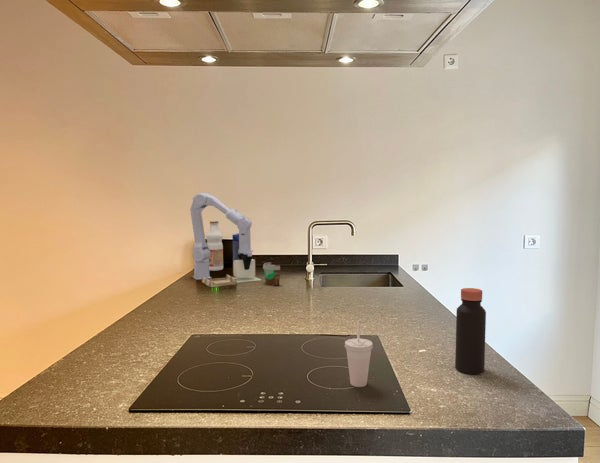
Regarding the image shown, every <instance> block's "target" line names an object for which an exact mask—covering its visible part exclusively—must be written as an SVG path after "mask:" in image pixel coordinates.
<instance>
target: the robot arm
mask: <svg viewBox="0 0 600 463" xmlns="http://www.w3.org/2000/svg"><path fill="white" fill-rule="evenodd" d="M209 206H211V207H214V208H215V209H217V210H218V211H220V212H222V213H223V214H225V217H226V219H227V220H229V221H230V222H231V223H233V224H234V225H236V227H237V228H238V233H239V250H238V253H240V255H237V256H238V258H239V260H243V263H244V269H245V270H249V267H250V263H251V260H252V259H253V258H254V255H253V252H254V251H253V250H252V248H251V242H252V241H251V227H252V225H253V223H252V220H251V219H250V218H249V217H246V216H245V215H242V214H241V213H239V212H238V209H234V208H232V209H230V208H229V207H227V206H226V205H225V203H223V202H222V201H220V200H219V199H218V198H216V197H215V196H214V195H212V194H211V193H209V192H198V193H196V194H195V195H194V196H193V197H192V203H191V207H190V217H191V224H192V231H193V238H194V246H193V248H192V249H193V252H192V258H193V260H194V264H193V275H192V276H191V277H192V279H195V280H202V277H204V278H206V279H213V278H212V276H210V270H209V258H210V256H211V251H210V249H209V247H208V244H207V240H206V235H205V229H204V222H203V220H204V219H203V216H202V215H203V214H202V213H203V211H204V209H206V207H209Z"/></svg>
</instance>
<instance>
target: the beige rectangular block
mask: <svg viewBox="0 0 600 463" xmlns="http://www.w3.org/2000/svg"><path fill="white" fill-rule="evenodd" d="M246 276H254V277H256V259H253V258H252V260H251V263H250V267H249V270H245V269H244V263H243V260H234V276H233V277H234V278H235V277H246Z"/></svg>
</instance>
